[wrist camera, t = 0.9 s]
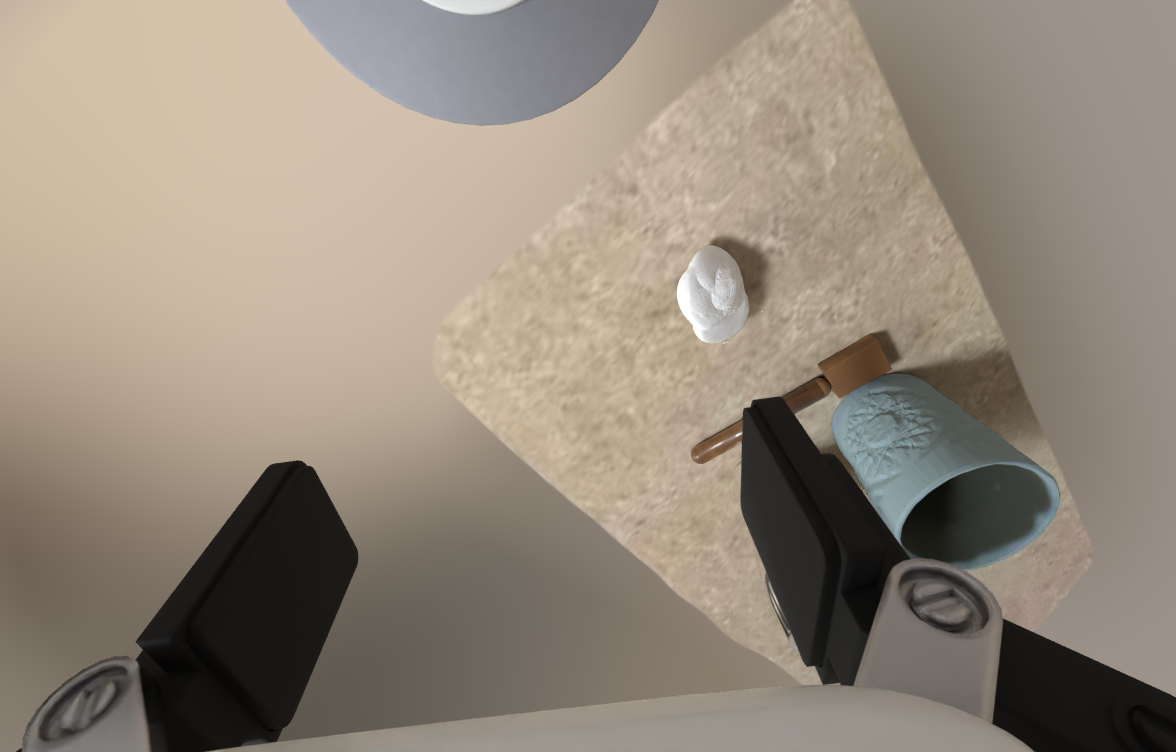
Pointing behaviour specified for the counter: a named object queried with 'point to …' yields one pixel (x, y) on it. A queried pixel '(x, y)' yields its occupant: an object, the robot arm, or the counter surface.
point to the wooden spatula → (813, 390)
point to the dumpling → (713, 295)
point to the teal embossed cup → (941, 474)
